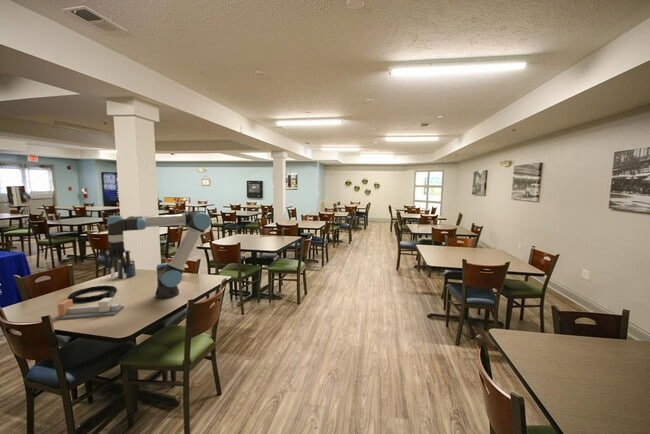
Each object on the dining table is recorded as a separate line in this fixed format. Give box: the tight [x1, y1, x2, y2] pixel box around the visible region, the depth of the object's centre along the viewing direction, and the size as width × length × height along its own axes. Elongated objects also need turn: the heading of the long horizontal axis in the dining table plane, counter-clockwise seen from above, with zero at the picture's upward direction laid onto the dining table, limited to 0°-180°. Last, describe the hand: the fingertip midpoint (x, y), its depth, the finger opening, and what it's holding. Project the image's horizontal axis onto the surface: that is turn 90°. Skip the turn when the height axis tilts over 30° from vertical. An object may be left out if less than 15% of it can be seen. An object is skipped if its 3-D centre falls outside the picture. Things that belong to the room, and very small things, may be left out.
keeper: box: [97, 297, 114, 312], centre depth 180 cm, size 5×6×6 cm
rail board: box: [56, 298, 125, 321], centre depth 179 cm, size 30×12×8 cm, turn 101°
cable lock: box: [67, 285, 118, 304], centre depth 208 cm, size 28×4×30 cm
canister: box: [116, 255, 137, 279], centre depth 253 cm, size 13×13×18 cm
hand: (118, 278), depth 180 cm, fingers open, 6 cm apart
